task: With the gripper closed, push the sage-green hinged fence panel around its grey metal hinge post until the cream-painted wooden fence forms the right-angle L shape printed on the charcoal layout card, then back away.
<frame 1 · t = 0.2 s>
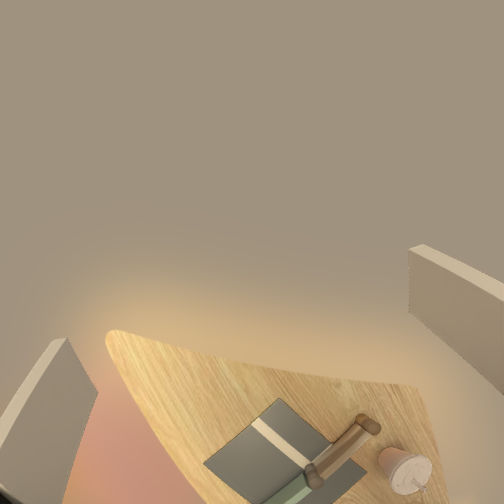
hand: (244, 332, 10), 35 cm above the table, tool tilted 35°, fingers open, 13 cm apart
smoothie: (387, 456, 38), on the table
layout card: (287, 472, 38), on the table
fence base: (310, 467, 38), on the table
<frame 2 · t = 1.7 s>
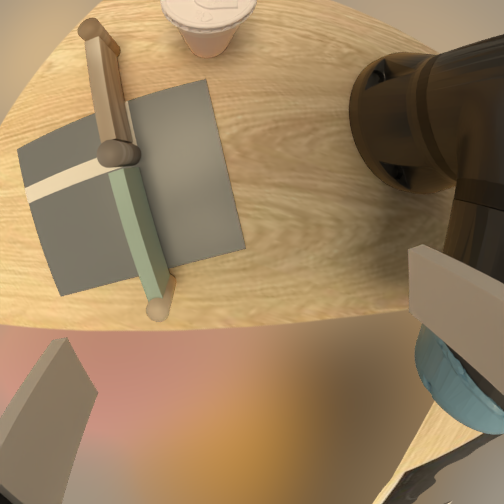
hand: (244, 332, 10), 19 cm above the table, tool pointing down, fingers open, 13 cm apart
smoothie: (208, 41, 23), on the table
layout card: (119, 193, 26), on the table
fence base: (131, 155, 25), on the table
gate panel: (144, 240, 24), point 4 cm above the table, hinge at 0.0°
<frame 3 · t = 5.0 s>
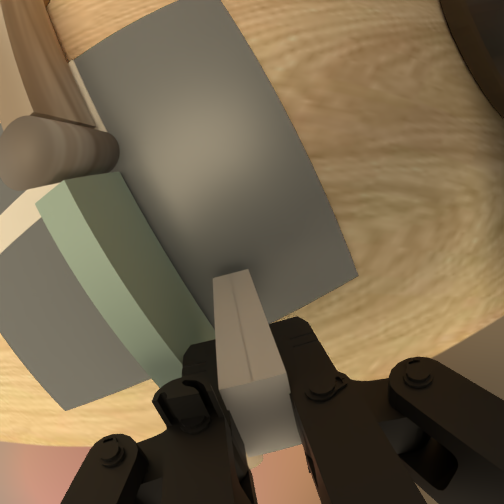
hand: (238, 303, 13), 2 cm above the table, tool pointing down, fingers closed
layout card: (98, 231, 13), on the table
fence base: (101, 153, 12), on the table
gate panel: (168, 324, 11), point 4 cm above the table, hinge at 0.2°, touching gripper
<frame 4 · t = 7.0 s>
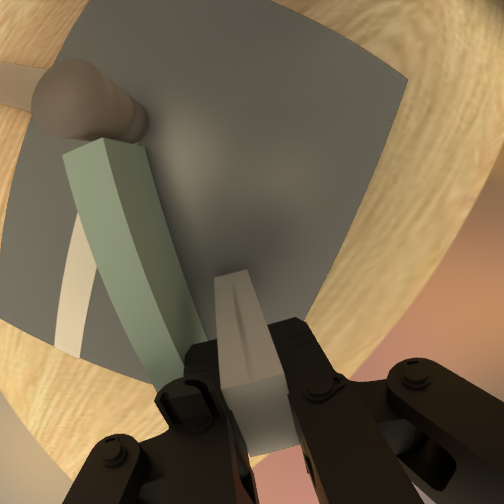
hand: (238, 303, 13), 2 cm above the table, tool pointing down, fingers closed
layout card: (173, 190, 13), on the table
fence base: (128, 124, 12), on the table
gate panel: (165, 313, 11), point 4 cm above the table, hinge at 52.4°, touching gripper
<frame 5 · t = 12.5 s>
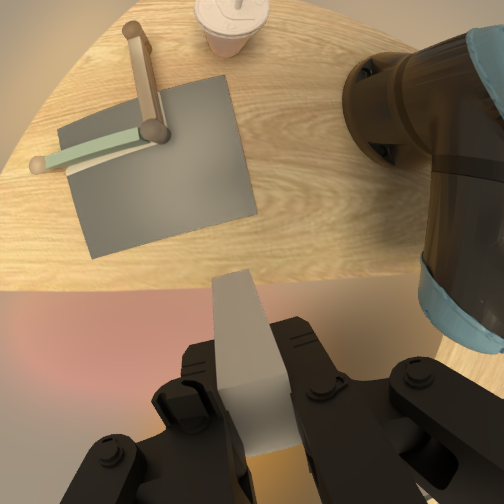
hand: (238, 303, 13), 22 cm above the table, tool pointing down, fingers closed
smoothie: (225, 43, 29), on the table
layout card: (151, 166, 31), on the table
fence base: (162, 135, 31), on the table
gate panel: (89, 150, 27), point 4 cm above the table, hinge at 93.8°
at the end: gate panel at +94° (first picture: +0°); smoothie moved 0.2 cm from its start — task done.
